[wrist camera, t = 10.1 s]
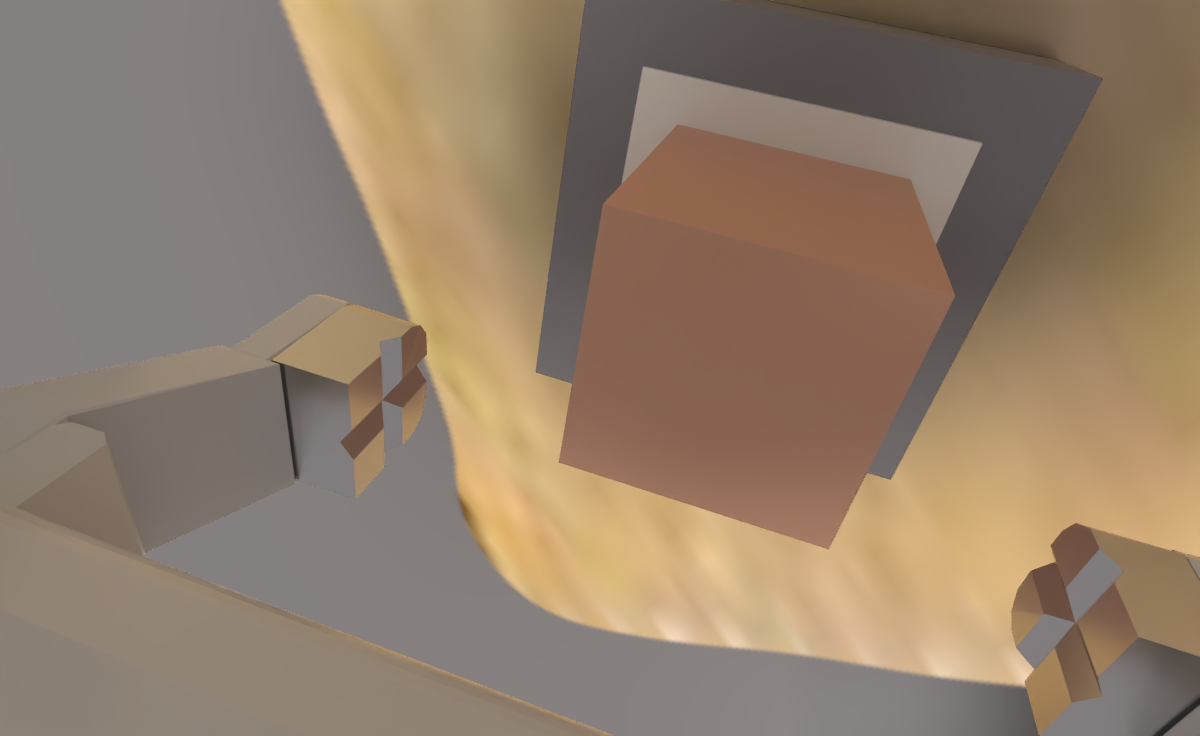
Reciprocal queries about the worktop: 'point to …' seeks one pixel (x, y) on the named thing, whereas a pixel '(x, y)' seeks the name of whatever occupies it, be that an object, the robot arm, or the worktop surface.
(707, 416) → the block
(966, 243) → the base
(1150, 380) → the worktop surface
